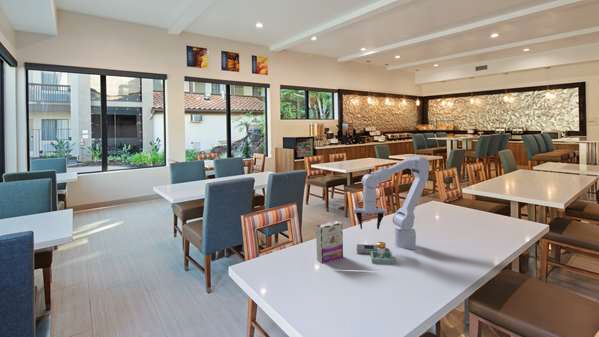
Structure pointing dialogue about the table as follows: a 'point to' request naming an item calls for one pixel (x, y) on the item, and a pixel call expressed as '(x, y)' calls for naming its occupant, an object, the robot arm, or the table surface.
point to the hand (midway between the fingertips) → (369, 228)
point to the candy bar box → (329, 241)
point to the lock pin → (381, 250)
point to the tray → (382, 261)
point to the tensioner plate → (367, 249)
